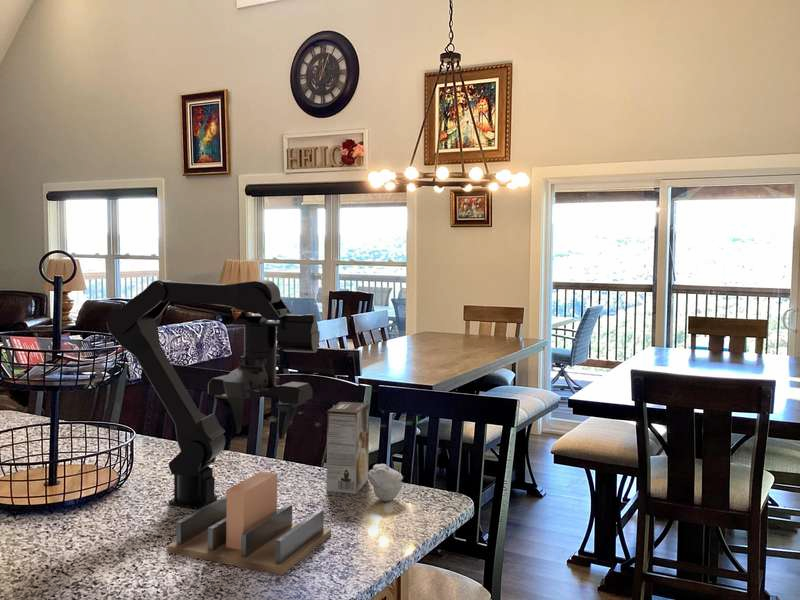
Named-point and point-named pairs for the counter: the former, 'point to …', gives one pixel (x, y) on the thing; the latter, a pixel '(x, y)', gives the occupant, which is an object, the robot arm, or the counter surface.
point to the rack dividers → (251, 530)
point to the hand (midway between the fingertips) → (259, 436)
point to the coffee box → (347, 447)
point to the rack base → (257, 560)
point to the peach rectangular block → (249, 505)
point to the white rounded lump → (385, 482)
